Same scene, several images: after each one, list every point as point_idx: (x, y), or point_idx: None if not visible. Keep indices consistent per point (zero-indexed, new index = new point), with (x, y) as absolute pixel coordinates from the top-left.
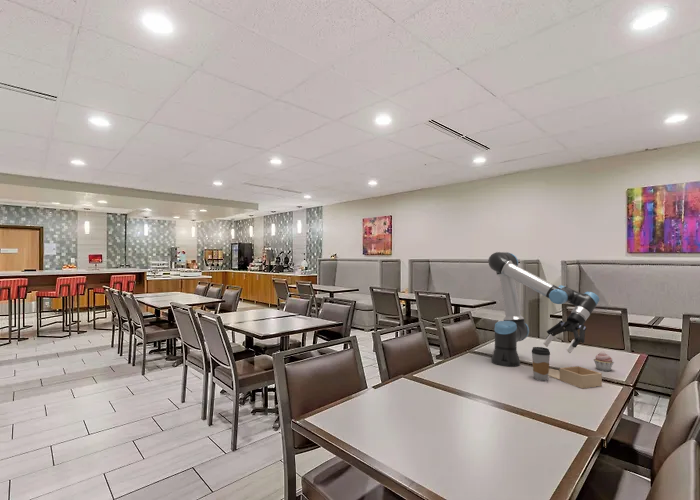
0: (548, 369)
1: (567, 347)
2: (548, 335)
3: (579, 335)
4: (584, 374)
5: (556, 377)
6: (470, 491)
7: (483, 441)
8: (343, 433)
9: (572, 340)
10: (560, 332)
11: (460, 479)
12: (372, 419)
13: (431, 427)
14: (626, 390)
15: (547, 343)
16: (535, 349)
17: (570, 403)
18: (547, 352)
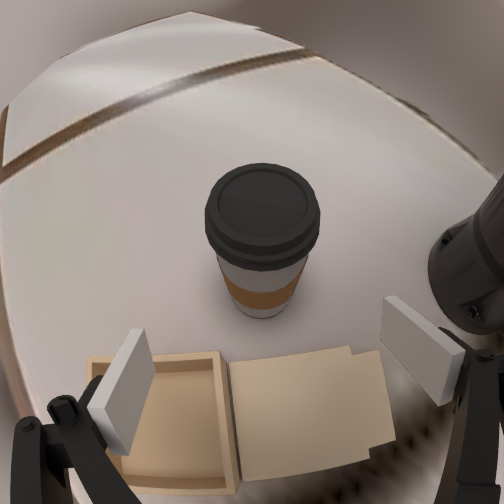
0: (228, 286)
1: (138, 338)
2: (465, 349)
3: (39, 466)
4: (192, 482)
5: (250, 364)
6: (45, 70)
7: (74, 78)
8: (152, 23)
9: (107, 395)
10: (443, 476)
11: (56, 67)
12: (166, 29)
13: (123, 52)
14: None
15: (393, 333)
16: (252, 164)
17: (57, 223)
18: (208, 219)
